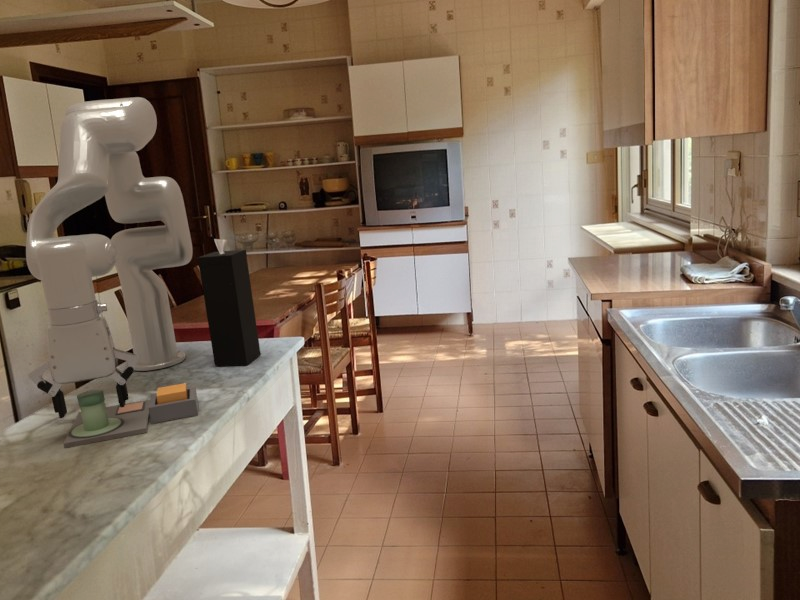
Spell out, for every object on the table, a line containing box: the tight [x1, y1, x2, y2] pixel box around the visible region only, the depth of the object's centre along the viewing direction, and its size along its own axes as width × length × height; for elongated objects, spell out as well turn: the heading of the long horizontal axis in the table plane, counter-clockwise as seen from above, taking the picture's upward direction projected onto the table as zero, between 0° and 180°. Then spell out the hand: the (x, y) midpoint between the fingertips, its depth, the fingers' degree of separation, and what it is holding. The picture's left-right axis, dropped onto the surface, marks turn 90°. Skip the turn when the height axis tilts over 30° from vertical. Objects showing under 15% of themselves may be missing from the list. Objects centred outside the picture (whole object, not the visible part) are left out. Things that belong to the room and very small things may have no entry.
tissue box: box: [197, 238, 261, 367], centre depth 153 cm, size 8×8×28 cm
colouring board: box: [63, 399, 150, 449], centre depth 123 cm, size 16×13×1 cm
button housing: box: [148, 386, 199, 425], centre depth 125 cm, size 8×8×3 cm
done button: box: [156, 382, 188, 404], centre depth 125 cm, size 5×5×2 cm
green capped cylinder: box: [76, 389, 109, 431], centre depth 119 cm, size 4×4×6 cm
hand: (93, 410), depth 119 cm, fingers open, 9 cm apart
